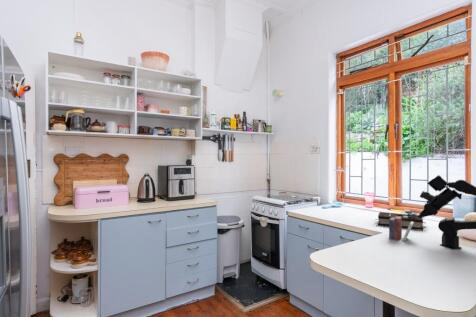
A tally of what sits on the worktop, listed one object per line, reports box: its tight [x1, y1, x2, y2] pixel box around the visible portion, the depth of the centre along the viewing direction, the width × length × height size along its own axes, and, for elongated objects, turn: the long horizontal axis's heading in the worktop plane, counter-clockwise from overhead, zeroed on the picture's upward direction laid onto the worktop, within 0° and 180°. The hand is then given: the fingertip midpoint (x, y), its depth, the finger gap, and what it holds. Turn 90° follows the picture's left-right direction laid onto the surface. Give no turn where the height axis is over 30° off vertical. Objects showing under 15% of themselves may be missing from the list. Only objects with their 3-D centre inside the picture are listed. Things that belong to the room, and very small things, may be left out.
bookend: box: [402, 221, 414, 242], centre depth 152 cm, size 1×8×10 cm, turn 141°
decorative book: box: [375, 211, 426, 231], centre depth 188 cm, size 19×8×30 cm
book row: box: [388, 216, 403, 241], centre depth 156 cm, size 5×8×12 cm, turn 142°
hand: (418, 216), depth 149 cm, fingers open, 2 cm apart
